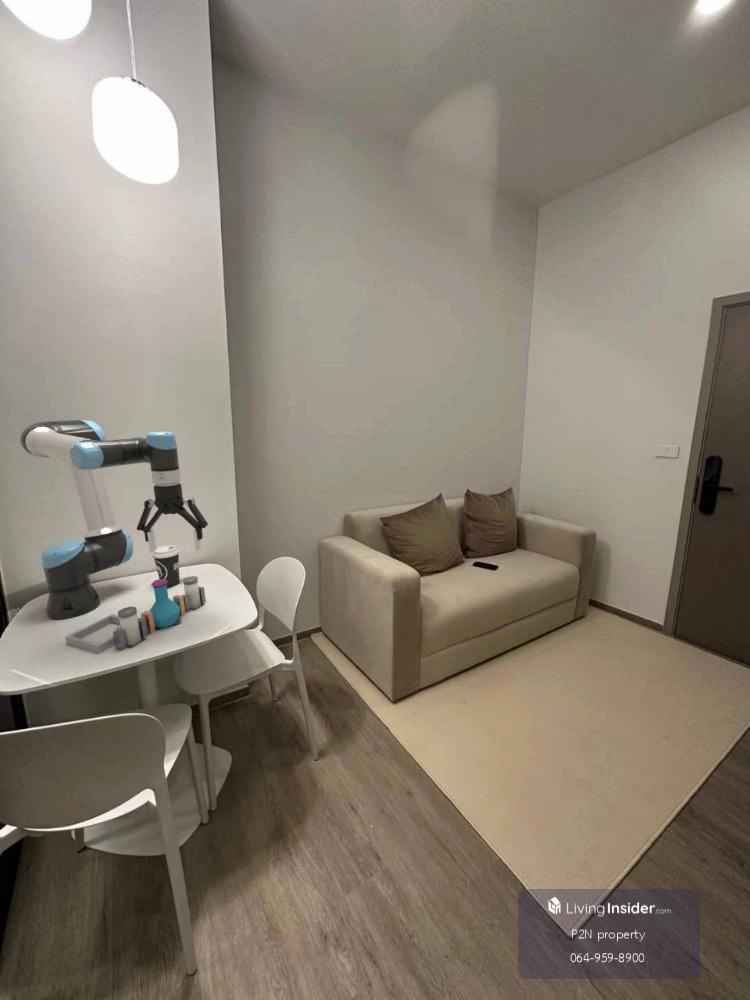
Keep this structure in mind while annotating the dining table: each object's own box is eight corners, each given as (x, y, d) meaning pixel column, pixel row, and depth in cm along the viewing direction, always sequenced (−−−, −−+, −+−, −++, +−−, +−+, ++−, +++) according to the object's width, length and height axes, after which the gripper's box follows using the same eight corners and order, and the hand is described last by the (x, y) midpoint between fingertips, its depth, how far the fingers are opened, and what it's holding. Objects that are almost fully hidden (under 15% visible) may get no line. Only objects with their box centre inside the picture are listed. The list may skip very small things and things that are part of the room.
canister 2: (183, 607, 136) (179, 580, 134) (194, 601, 140) (190, 575, 138) (193, 610, 134) (190, 582, 132) (204, 603, 139) (200, 577, 136)
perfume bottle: (188, 620, 129) (182, 577, 126) (163, 635, 121) (155, 589, 118) (168, 615, 133) (162, 573, 130) (143, 628, 125) (135, 584, 122)
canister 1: (119, 644, 115) (113, 612, 113) (134, 636, 120) (128, 605, 117) (130, 647, 114) (125, 615, 111) (145, 638, 118) (140, 608, 116)
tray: (67, 646, 116) (65, 637, 116) (113, 622, 129) (111, 614, 128) (99, 656, 111) (97, 646, 111) (144, 630, 124) (142, 621, 123)
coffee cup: (176, 589, 152) (171, 552, 149) (151, 590, 152) (145, 553, 149) (188, 579, 161) (183, 544, 158) (165, 579, 161) (159, 544, 158)
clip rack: (112, 650, 114) (108, 628, 112) (197, 601, 142) (194, 583, 141) (126, 654, 112) (122, 631, 110) (209, 603, 140) (207, 585, 139)
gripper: (117, 487, 115) (128, 556, 120) (205, 485, 117) (213, 552, 122) (130, 482, 122) (140, 547, 127) (213, 480, 124) (220, 544, 129)
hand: (176, 550), depth 125 cm, fingers open, 13 cm apart
